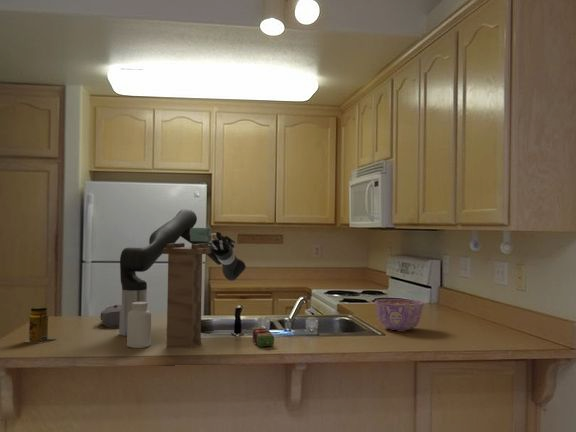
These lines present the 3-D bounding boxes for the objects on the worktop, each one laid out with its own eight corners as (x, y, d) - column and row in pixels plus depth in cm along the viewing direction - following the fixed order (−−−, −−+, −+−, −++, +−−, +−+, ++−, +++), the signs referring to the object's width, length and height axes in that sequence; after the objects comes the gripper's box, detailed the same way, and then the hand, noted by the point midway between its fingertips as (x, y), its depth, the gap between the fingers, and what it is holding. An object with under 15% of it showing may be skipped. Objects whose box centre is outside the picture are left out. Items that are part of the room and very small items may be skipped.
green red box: (249, 338, 205) (250, 325, 206) (266, 338, 207) (266, 324, 207) (258, 350, 185) (258, 336, 185) (276, 350, 186) (276, 335, 187)
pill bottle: (128, 349, 184) (129, 304, 184) (125, 344, 191) (126, 301, 191) (152, 347, 187) (153, 303, 187) (148, 342, 194) (149, 300, 195)
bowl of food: (392, 335, 214) (393, 306, 214) (365, 327, 232) (365, 299, 232) (433, 332, 222) (434, 303, 222) (404, 324, 240) (404, 297, 240)
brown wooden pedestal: (176, 339, 201) (178, 242, 202) (209, 340, 199) (211, 243, 200) (161, 346, 189) (163, 243, 190) (196, 348, 186) (198, 244, 187)
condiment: (23, 342, 193) (24, 308, 193) (42, 337, 201) (43, 305, 201) (38, 343, 190) (39, 309, 191) (57, 339, 198) (58, 306, 198)
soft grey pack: (136, 327, 224) (138, 319, 243) (137, 307, 224) (139, 301, 244) (98, 328, 221) (103, 320, 240) (98, 308, 221) (103, 301, 240)
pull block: (210, 239, 226) (210, 227, 226) (224, 239, 225) (224, 227, 225) (190, 241, 205) (190, 227, 205) (205, 241, 203) (205, 228, 203)
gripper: (210, 244, 238) (198, 224, 223) (241, 245, 235) (231, 225, 220) (207, 260, 234) (194, 241, 220) (238, 261, 231) (228, 241, 217)
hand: (213, 233), depth 220 cm, fingers closed on pull block, 3 cm apart
